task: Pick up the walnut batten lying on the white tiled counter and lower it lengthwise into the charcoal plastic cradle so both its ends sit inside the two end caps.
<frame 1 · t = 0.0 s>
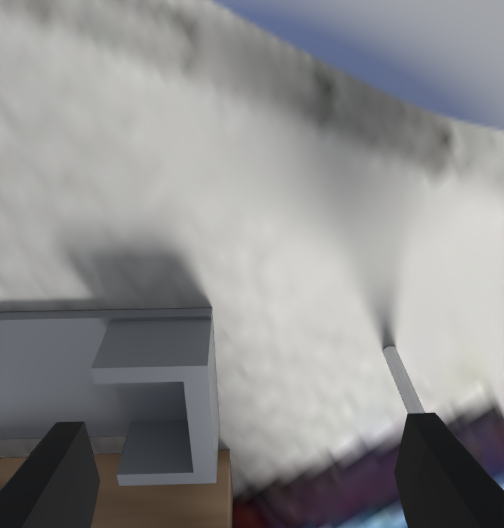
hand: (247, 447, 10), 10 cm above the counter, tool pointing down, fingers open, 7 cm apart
slat: (111, 473, 27), on the counter
cradle: (22, 375, 22), on the counter
lollipop: (388, 348, 22), on the counter
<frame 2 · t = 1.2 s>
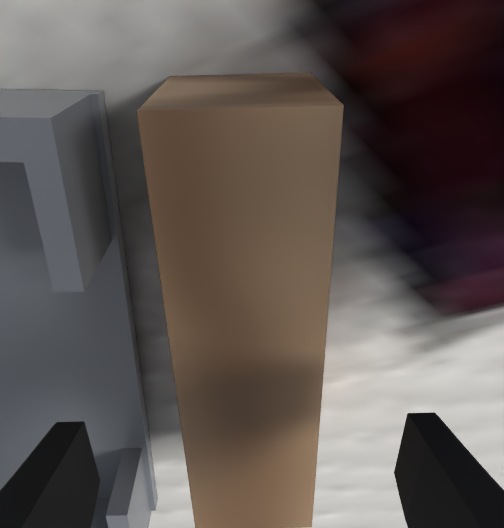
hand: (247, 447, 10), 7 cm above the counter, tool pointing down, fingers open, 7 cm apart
slat: (246, 280, 17), on the counter
cradle: (38, 348, 18), on the counter
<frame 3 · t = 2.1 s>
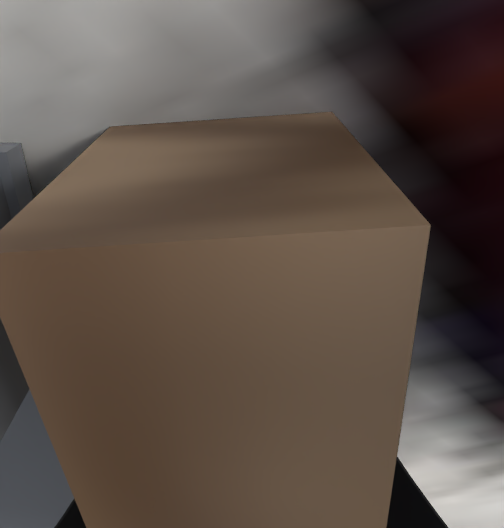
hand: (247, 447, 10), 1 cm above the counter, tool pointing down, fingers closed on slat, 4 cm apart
slat: (246, 395, 12), on the counter, touching gripper
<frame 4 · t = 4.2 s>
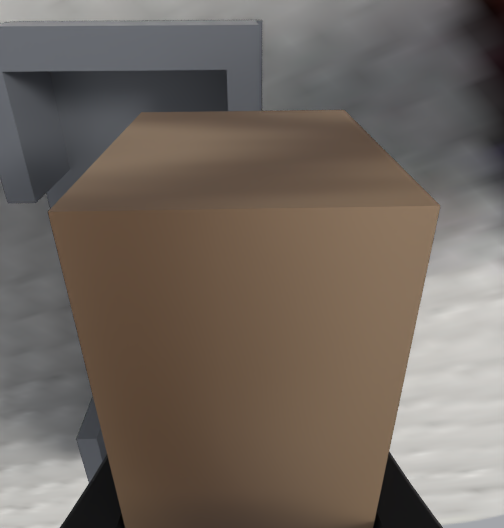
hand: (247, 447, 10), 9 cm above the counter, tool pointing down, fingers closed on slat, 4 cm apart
slat: (247, 377, 12), point 7 cm above the counter, touching gripper
cradle: (167, 282, 19), on the counter
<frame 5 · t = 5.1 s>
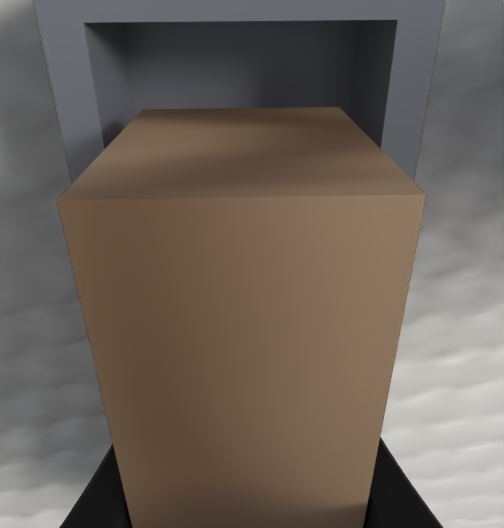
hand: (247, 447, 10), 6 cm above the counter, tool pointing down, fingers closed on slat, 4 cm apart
slat: (245, 368, 13), point 3 cm above the counter, touching gripper
cradle: (245, 301, 15), on the counter
when the fingers open (4 cm above the counter, at t = 5.9 s): slat stays where it is, resting on cradle.
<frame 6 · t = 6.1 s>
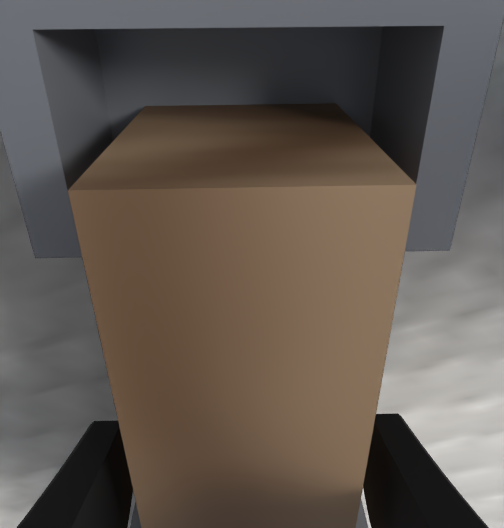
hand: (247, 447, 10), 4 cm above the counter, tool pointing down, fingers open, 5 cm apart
slat: (246, 360, 13), point 1 cm above the counter, touching cradle
cradle: (245, 344, 14), on the counter
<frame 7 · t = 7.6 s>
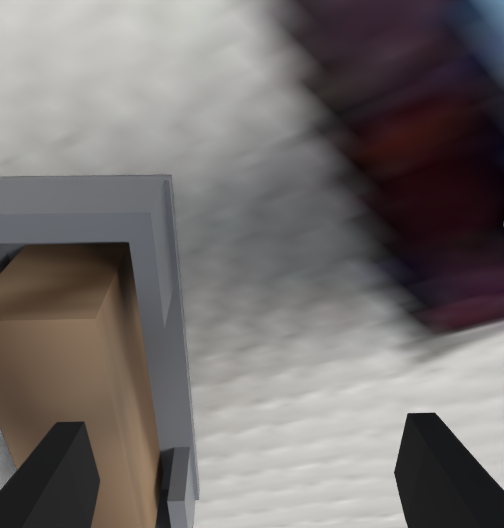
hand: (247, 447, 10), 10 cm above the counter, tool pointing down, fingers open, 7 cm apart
slat: (105, 377, 21), point 1 cm above the counter, touching cradle
cradle: (108, 367, 22), on the counter
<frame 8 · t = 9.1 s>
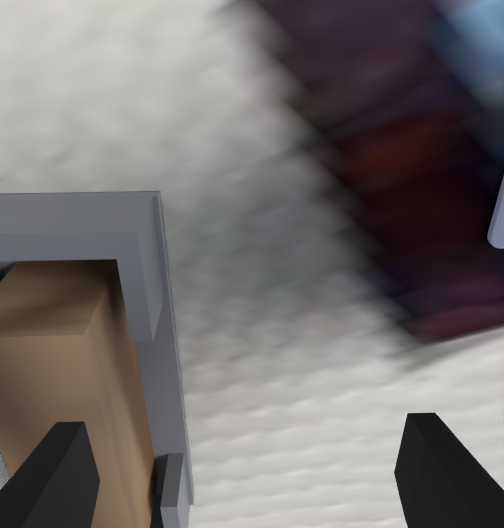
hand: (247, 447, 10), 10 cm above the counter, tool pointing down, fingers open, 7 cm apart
slat: (100, 386, 22), point 1 cm above the counter, touching cradle
cradle: (102, 376, 22), on the counter
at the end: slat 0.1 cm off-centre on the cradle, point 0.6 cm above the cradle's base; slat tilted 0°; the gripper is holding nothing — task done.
